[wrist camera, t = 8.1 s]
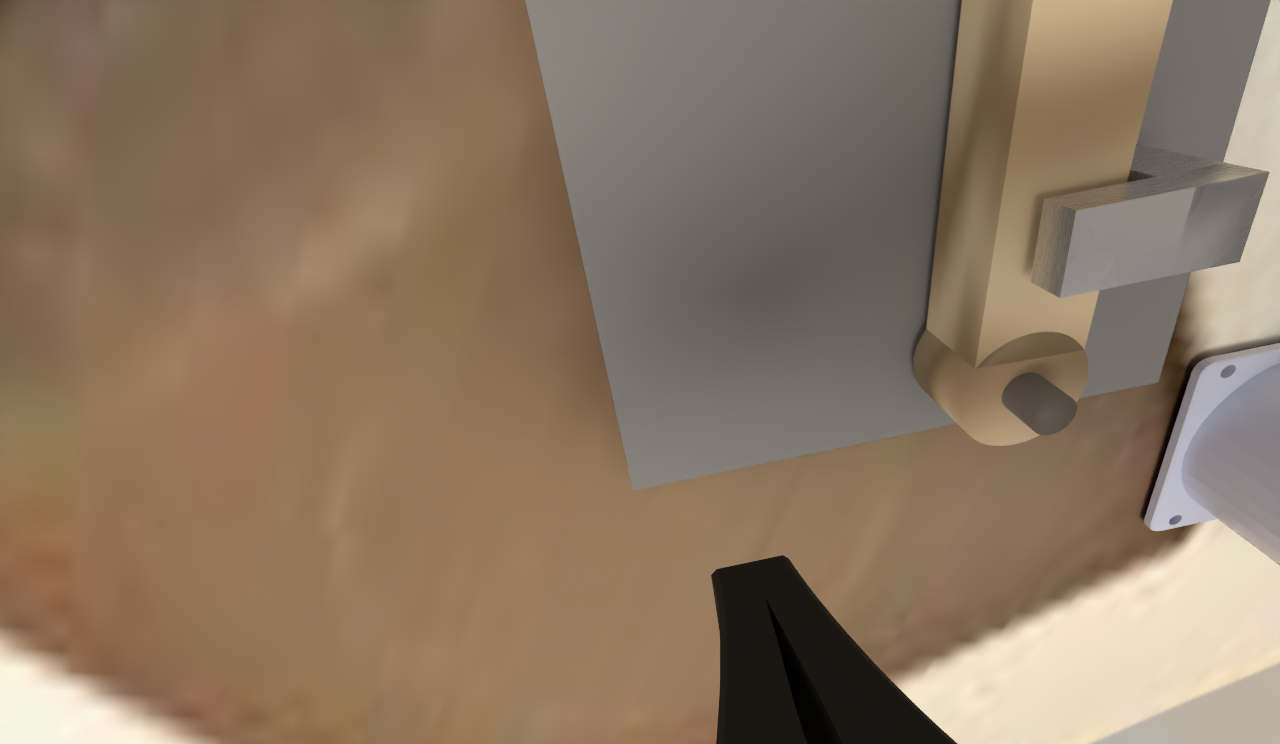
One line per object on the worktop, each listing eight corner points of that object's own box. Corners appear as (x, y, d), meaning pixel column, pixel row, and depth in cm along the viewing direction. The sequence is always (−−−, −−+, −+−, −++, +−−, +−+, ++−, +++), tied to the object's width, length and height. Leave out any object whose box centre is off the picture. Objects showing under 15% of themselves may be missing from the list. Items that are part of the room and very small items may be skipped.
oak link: (1017, 389, 20) (1104, 459, 17) (908, 408, 20) (976, 482, 17) (1127, -160, 13) (1307, -217, 10) (963, -137, 13) (1093, -187, 10)
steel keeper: (1114, 139, 17) (1268, 172, 13) (1099, 212, 18) (1239, 262, 14) (962, 169, 17) (1075, 210, 13) (956, 241, 18) (1059, 298, 14)
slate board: (1333, -375, 13) (1388, -402, 12) (1134, 367, 22) (1157, 382, 21) (478, -221, 13) (473, -238, 12) (629, 471, 22) (633, 490, 21)
